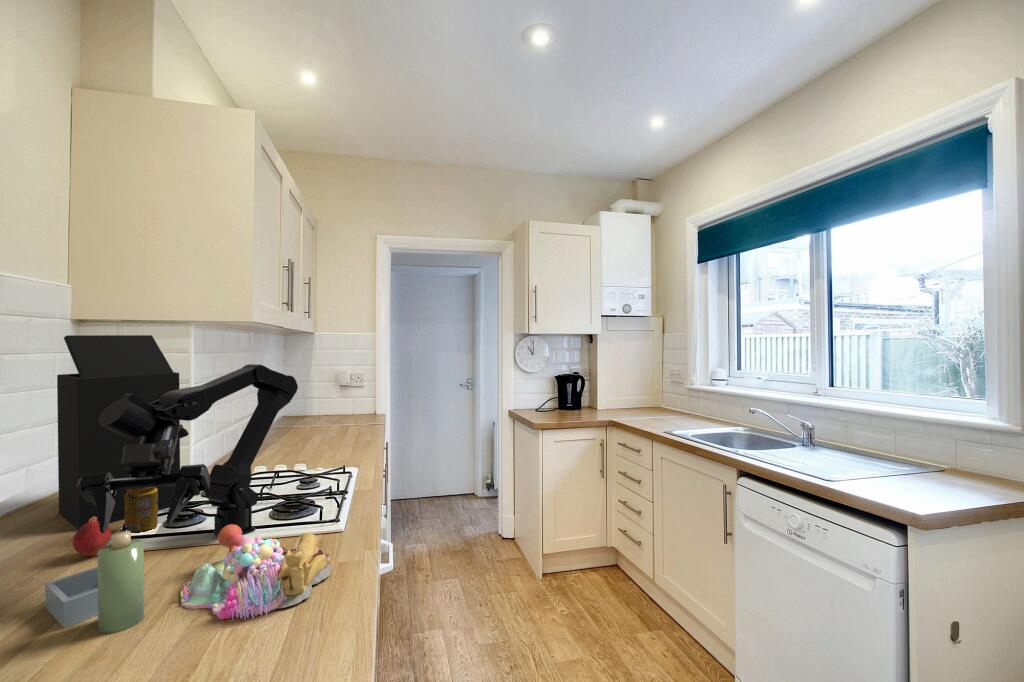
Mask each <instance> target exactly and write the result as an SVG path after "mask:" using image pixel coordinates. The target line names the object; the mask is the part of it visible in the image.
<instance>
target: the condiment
mask: <svg viewBox="0 0 1024 682" xmlns="http://www.w3.org/2000/svg"><path fill="white" fill-rule="evenodd" d="M158 512H159V511H158V490H157V488H156V487H148V488H136V489H127V493H126V494H125V519H124V527H125V526H128V528H127V531H130V532H131V533H140V532H146V531H149V530H152V529H155V528H156V527H157V524H158V523H159V522H158V521H159V519H158V518H159V515H158Z"/></svg>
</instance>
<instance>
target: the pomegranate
mask: <svg viewBox="0 0 1024 682" xmlns="http://www.w3.org/2000/svg"><path fill="white" fill-rule="evenodd" d="M111 531H112V530H111V529H110V527H109V526H108V527H107V529H106V531H105V533H101V532H100V528H99V521H97V517H92V518H91V519H90V520H89V521H88V522H87V523H86V524H84V525H83V526H82V527H81V528H80V529H79V530H78V529H77V531H76V532H75V534H74V536H73V539H72V546H73V549H74V550H75V551H76V553H78V554H80V555H83V556H88V557H95V556H96V555H97V556H98V550H99V549H101V548H102V547H104V546H106V545H109V544H110V542H111V535H112V532H111Z"/></svg>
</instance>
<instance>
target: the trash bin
mask: <svg viewBox="0 0 1024 682" xmlns="http://www.w3.org/2000/svg"><path fill="white" fill-rule="evenodd" d="M63 340H64V343H65V345H66V348H67V349H68V351H69V354H70V356H71V359H72V361H73V363H74V366H75V368H76V371H77V373H69V374H68V373H66V374H64V373H63V374H56V380H57V381H56V385H57V386H56V387H57V388H56V389H57V392H56V393H57V395H56V396H57V456H58V457H57V461H58V462H57V464H58V465H57V466H58V467H57V469H58V470H57V471H58V472H57V473H58V476H57V479H58V480H57V481H58V482H57V484H58V514H59V515H60V516H61V517H62V518H63V519H65V521H67V522H68V523H69V524H70V525H72V527H74V528H75V529H76V530H77V531H78V530H79V529H80V528H81V527H82V526H83V525H84V524H86V523H87V522H88V521H89V520H90V519H91V518H92V517H97V521H99V519H98V511H97V506H95V505H93V503H91V502H86V501H85V499H84V498H83V497H82V495H81V494H80V493H79V491H78V490H77V488H76V486H77V483H78V481H79V479H80V478H81V477H82V476H83V475H85V474H90V473H102V472H110V473H111V475H112V476H113V478H114V479H121V478H130V475H131V474H127V473H126V471H125V469H126V465H121V462H122V456H123V450H124V446H126V445H138V444H140V441H141V438H142V436H141V437H138V438H135V439H128V438H126V437H124V436H122V435H120V434H118V433H116V432H114V431H112V430H110V429H108V428H106V427H104V426H102V425H100V424H99V421H98V420H99V417H100V414H101V413H102V411H103V410H104V409H105V408H106V407H108V406H109V405H111V404H112V403H113V402H115V401H116V400H119V399H121V398H122V397H123V396H124V394H134V395H136V396H137V397H139V398H140V399H141V400H142V401H144V402H145V403H147V404H149V403H152V402H154V401H157V400H159V399H160V397H161V396H162V395H163V394H165V393H166V392H169V391H173V390H178V389H180V372H176V371H175V372H174V371H173V369H172V367H171V365H170V364H169V362H168V361H167V359H166V357H165V354H164V353H163V352H162V350H161V348H160V347H159V345H158V343H157V341H156V340H155V338H154V336H153V335H151V334H150V335H149V334H148V335H147V334H145V335H144V334H141V335H140V334H138V335H136V334H135V335H134V334H133V335H131V334H130V335H129V334H128V335H121V334H120V335H119V334H118V335H116V334H115V335H114V334H113V335H112V334H110V335H109V334H105V335H102V334H101V335H100V334H99V335H98V334H96V335H95V334H94V335H93V334H92V335H91V334H89V335H86V334H84V335H80V334H79V335H74V334H73V335H68V334H67V335H65V336H64V337H63ZM158 418H160V419H163V420H171V421H173V422H175V423H176V424H178V425H180V424H181V423H180V421H181V420H175V419H167V418H164V417H160V416H158ZM173 459H174V462H173V465H171V468H170V472H169V474H180V469H181V438H180V439H178V440H177V443H176V447H175V452H174V456H173ZM175 486H176V485H169V486H159V487H156V488H157V490H158V512H160V511H163V510H167V509H169V508H170V505H171V502H172V499H173V496H174V493H175ZM126 493H127V489H125V490H117V493H116V496H115V497H114V498H113V499H114V500H115V505H114V508H113V512H112V515H111V518H110V521H109V524H112V523H115V522H119V521H125V494H126Z"/></svg>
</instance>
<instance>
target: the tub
mask: <svg viewBox="0 0 1024 682" xmlns="http://www.w3.org/2000/svg"><path fill="white" fill-rule="evenodd" d="M44 601H45V604H44V607H45V609H46V610H47V611H48V612H49V613H50V614H51V615H52V616H53V618H54V619H55V620H56V621H57V622H58V623H59V624H60V625H61V626H62V627H63V628H64V629H65V628H68V627H71V626H73V625H76V624H79V623H82V622H83V621H86V620H89V619H91V618H93V617H96V616H98V566H96V567H93V568H90V569H86V570H83V571H80V572H77V573H74V574H71V575H70V574H69V575H68V576H65V577H61V578H58V579H55V580H52V581H49V582H46V583H44Z"/></svg>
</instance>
